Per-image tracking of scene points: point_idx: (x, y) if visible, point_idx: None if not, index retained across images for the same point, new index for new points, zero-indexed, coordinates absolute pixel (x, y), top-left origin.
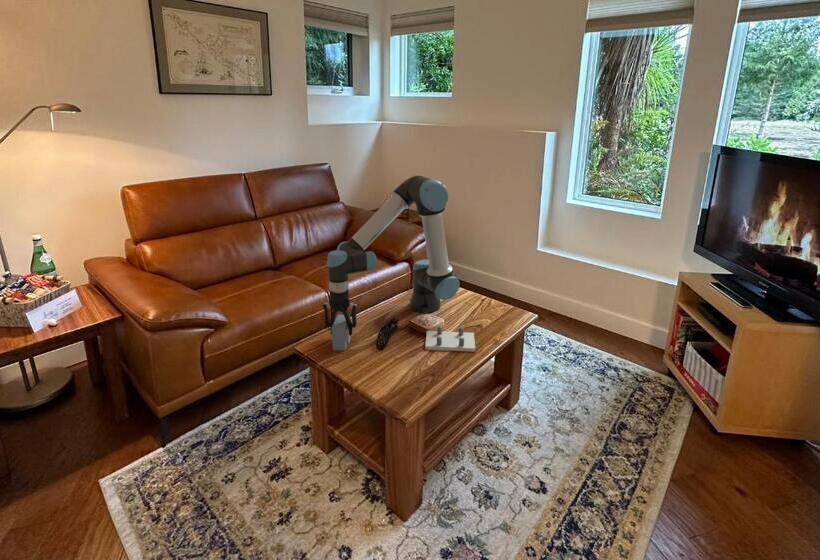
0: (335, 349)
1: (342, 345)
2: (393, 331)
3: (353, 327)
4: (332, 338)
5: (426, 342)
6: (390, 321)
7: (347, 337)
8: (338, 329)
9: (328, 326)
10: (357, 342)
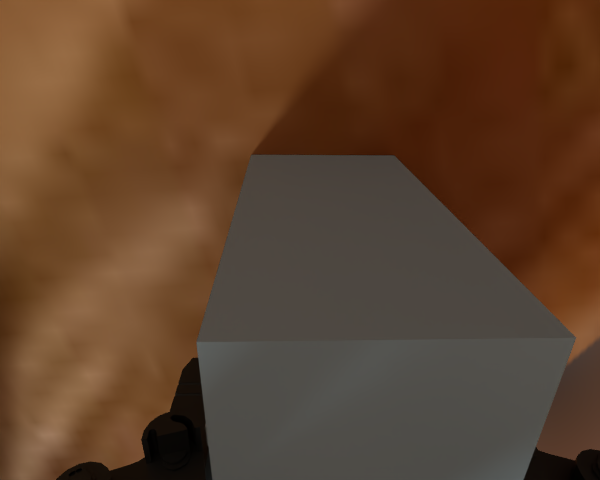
0: (364, 157)
1: (276, 172)
2: None
3: (100, 463)
4: (441, 211)
5: None
6: None
7: None
8: (357, 317)
9: (556, 456)
10: (165, 319)
